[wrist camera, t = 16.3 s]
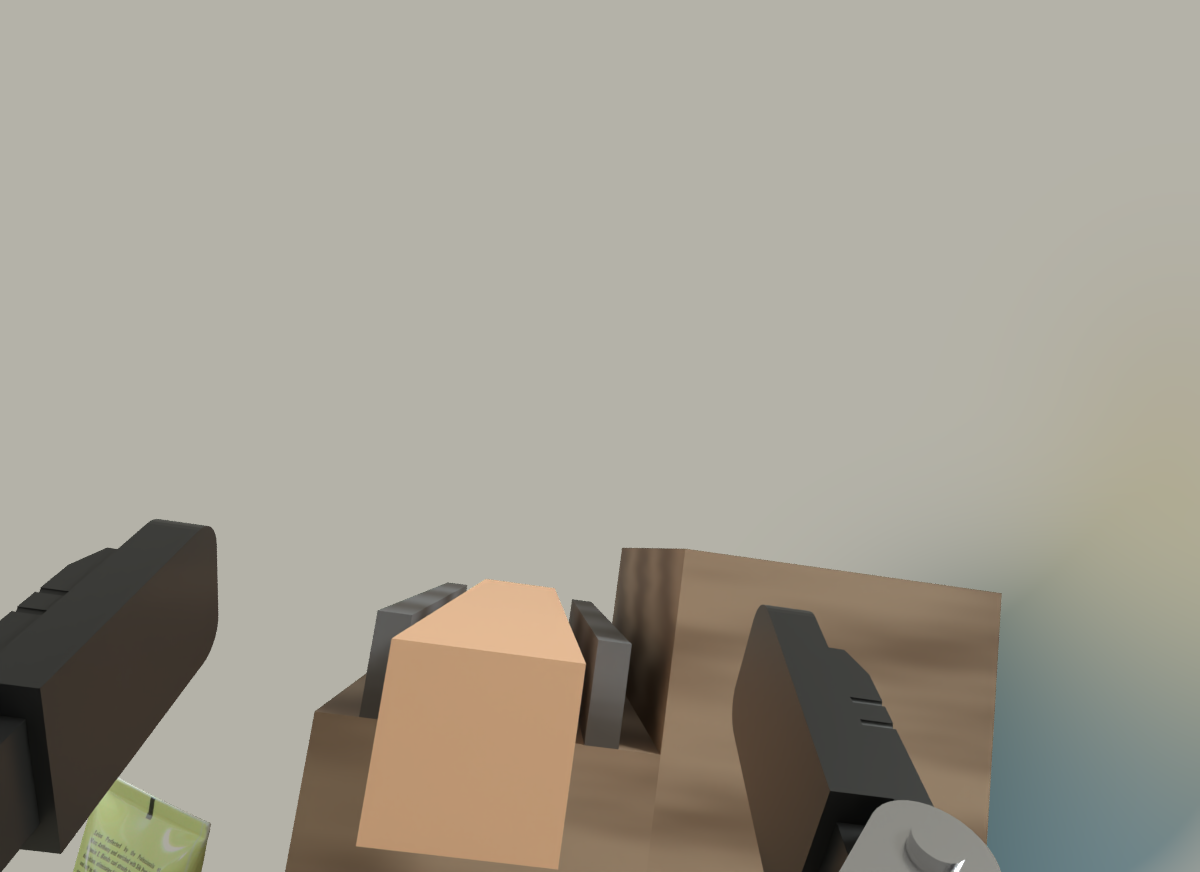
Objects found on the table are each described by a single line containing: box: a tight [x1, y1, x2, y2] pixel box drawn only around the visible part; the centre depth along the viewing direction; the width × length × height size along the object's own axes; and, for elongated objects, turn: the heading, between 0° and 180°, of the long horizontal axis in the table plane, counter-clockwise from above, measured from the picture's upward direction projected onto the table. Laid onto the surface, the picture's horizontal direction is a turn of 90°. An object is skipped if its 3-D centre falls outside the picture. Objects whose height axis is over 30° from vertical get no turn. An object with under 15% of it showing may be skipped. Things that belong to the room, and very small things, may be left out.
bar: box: [356, 579, 586, 870], centre depth 27 cm, size 26×4×4 cm, turn 4°
